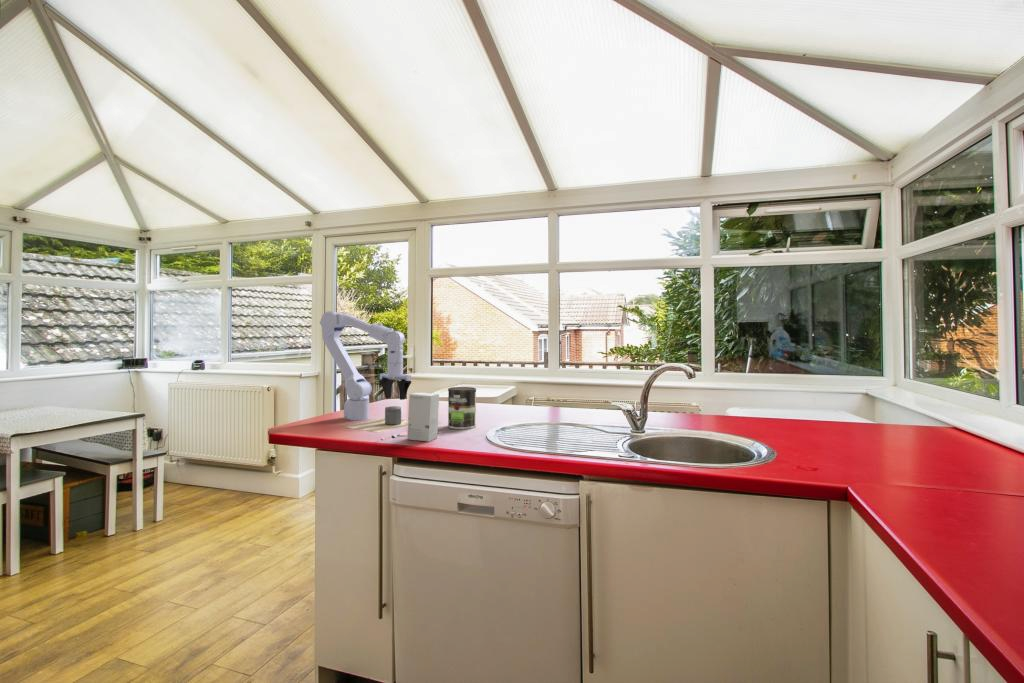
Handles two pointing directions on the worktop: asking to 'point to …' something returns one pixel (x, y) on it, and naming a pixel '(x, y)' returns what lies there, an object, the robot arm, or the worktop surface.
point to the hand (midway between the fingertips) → (395, 398)
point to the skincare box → (423, 416)
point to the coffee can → (462, 407)
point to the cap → (392, 415)
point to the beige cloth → (376, 425)
